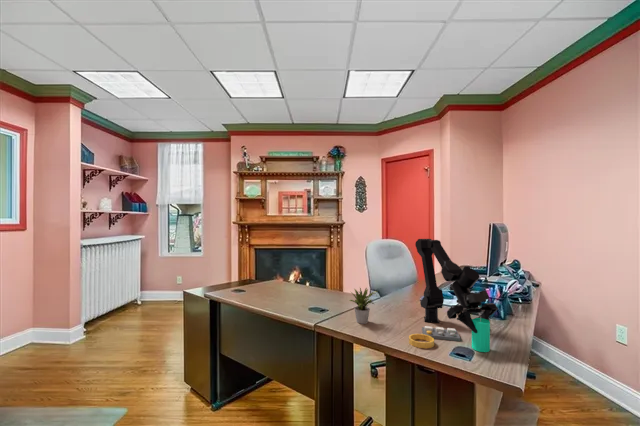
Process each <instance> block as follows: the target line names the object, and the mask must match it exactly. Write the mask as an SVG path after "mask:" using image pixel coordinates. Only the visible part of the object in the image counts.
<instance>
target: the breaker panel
mask: <svg viewBox="0 0 640 426" xmlns="http://www.w3.org/2000/svg"><path fill="white" fill-rule="evenodd" d="M421 332H422V333H421V334H425V335H428V336H431V337H432V338H434V340H435V339H436V340H445V341H454V342H455V341H456V342H461V336H460V335H459V332H458V330H456V328H451V327H447V328H444V327H443V326H442V327H439V326H435V327H433V326H429V325H425V326H422V327H421Z"/></svg>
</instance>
